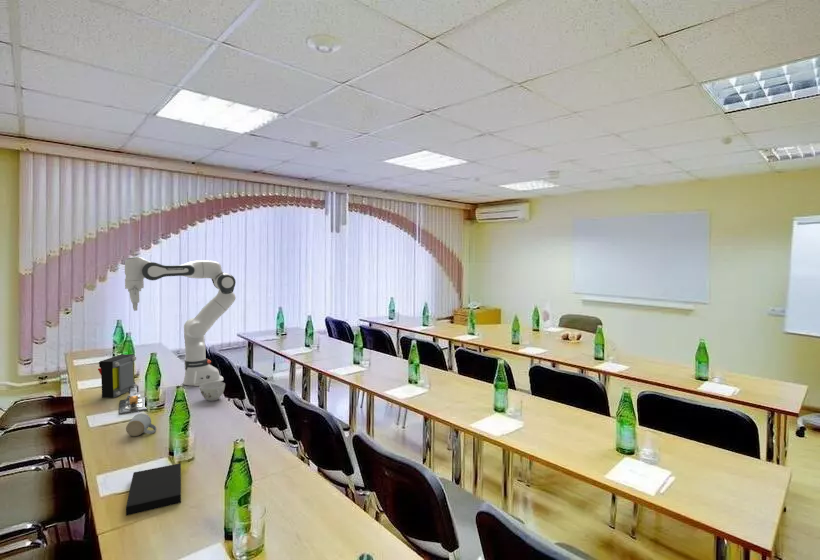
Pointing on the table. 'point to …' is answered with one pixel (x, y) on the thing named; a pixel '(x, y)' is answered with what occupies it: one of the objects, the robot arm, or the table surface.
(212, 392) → the teacup
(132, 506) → the external hard drive
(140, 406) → the plate
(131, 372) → the electrical component
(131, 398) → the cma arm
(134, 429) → the ceramic mug
